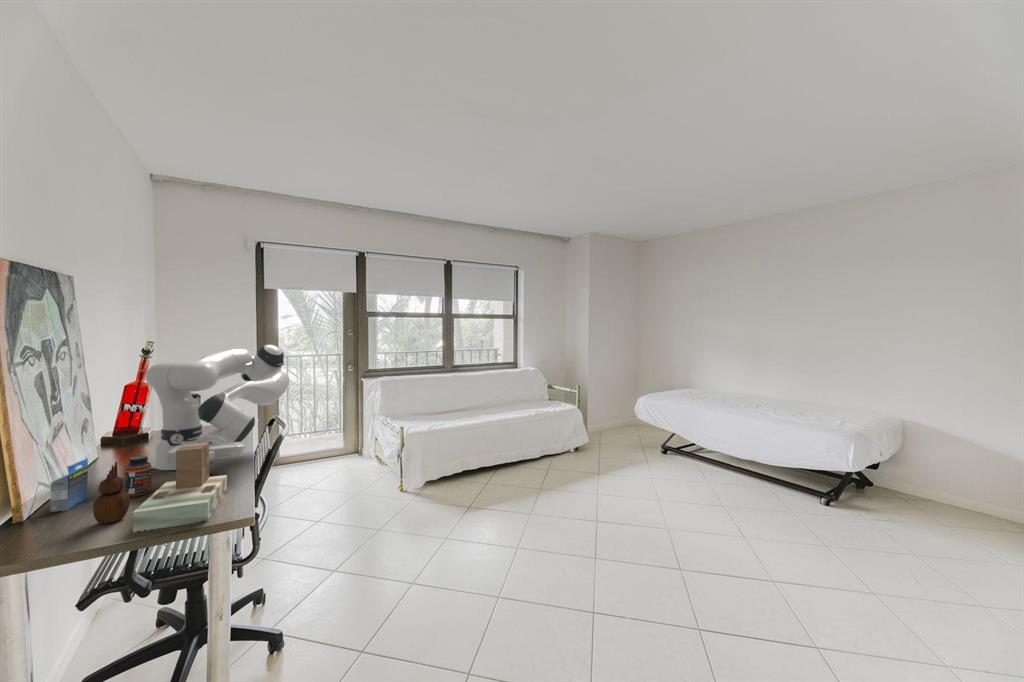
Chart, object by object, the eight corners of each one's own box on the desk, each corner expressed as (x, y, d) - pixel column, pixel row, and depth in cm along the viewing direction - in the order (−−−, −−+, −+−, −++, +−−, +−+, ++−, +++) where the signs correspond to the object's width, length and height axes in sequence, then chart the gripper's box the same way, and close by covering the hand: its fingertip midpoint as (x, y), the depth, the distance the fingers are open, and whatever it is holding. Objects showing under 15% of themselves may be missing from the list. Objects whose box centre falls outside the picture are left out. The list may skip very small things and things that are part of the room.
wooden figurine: (114, 515, 107) (114, 459, 107) (134, 515, 107) (135, 460, 107) (86, 527, 101) (86, 467, 101) (108, 527, 100) (108, 468, 100)
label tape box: (70, 500, 117) (70, 459, 117) (88, 498, 118) (88, 457, 118) (48, 513, 109) (49, 468, 109) (68, 510, 110) (69, 466, 110)
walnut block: (184, 480, 120) (184, 443, 120) (209, 477, 123) (209, 441, 123) (175, 489, 113) (176, 450, 113) (201, 486, 116) (202, 448, 116)
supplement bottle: (134, 498, 119) (134, 460, 119) (119, 497, 120) (119, 459, 120) (156, 491, 124) (156, 455, 124) (141, 489, 126) (141, 453, 126)
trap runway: (166, 498, 119) (166, 481, 119) (226, 490, 125) (227, 474, 125) (132, 532, 98) (132, 512, 98) (207, 521, 104) (207, 502, 104)
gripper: (248, 453, 142) (241, 464, 130) (175, 460, 133) (160, 473, 121) (248, 435, 142) (241, 445, 130) (175, 441, 133) (160, 452, 121)
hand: (201, 458), depth 125 cm, fingers closed
